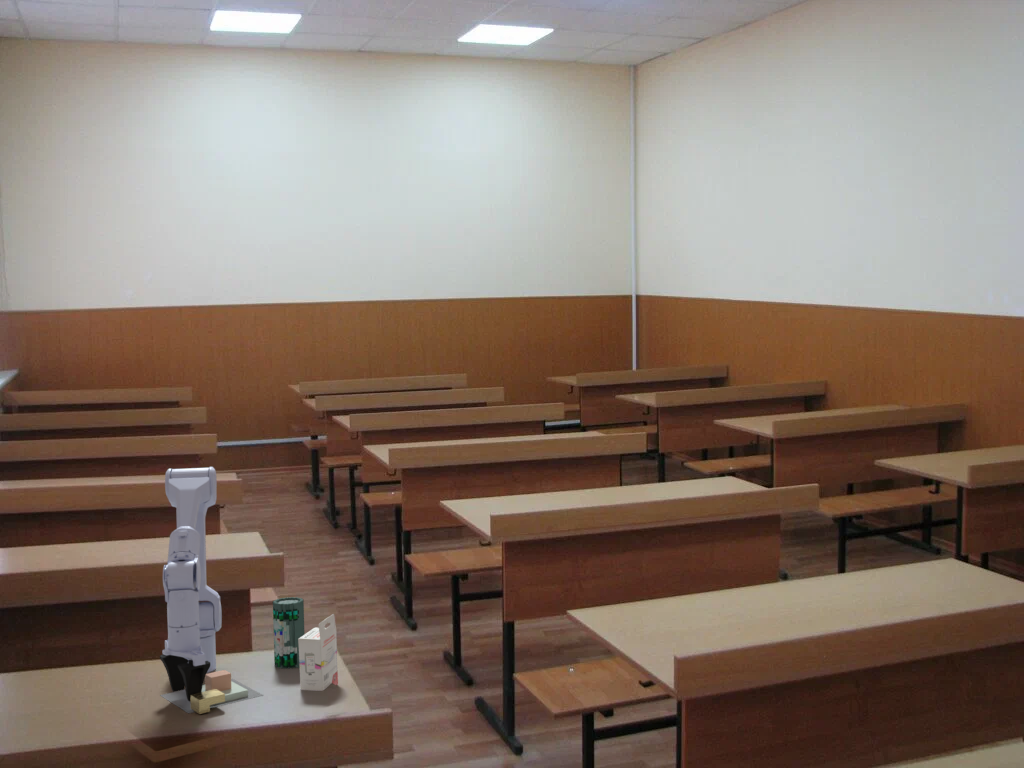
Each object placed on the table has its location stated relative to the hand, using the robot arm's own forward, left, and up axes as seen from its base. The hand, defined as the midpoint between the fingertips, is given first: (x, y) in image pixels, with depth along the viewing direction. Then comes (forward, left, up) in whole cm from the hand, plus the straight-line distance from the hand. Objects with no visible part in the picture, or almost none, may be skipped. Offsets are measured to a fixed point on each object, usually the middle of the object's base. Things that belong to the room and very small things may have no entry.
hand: (185, 695), depth 204 cm
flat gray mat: (-1, +6, -3) cm, 6 cm away
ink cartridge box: (+7, +25, -3) cm, 26 cm away
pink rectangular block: (0, +7, -2) cm, 7 cm away
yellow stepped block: (+6, +2, -1) cm, 7 cm away
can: (-9, +27, -3) cm, 28 cm away
